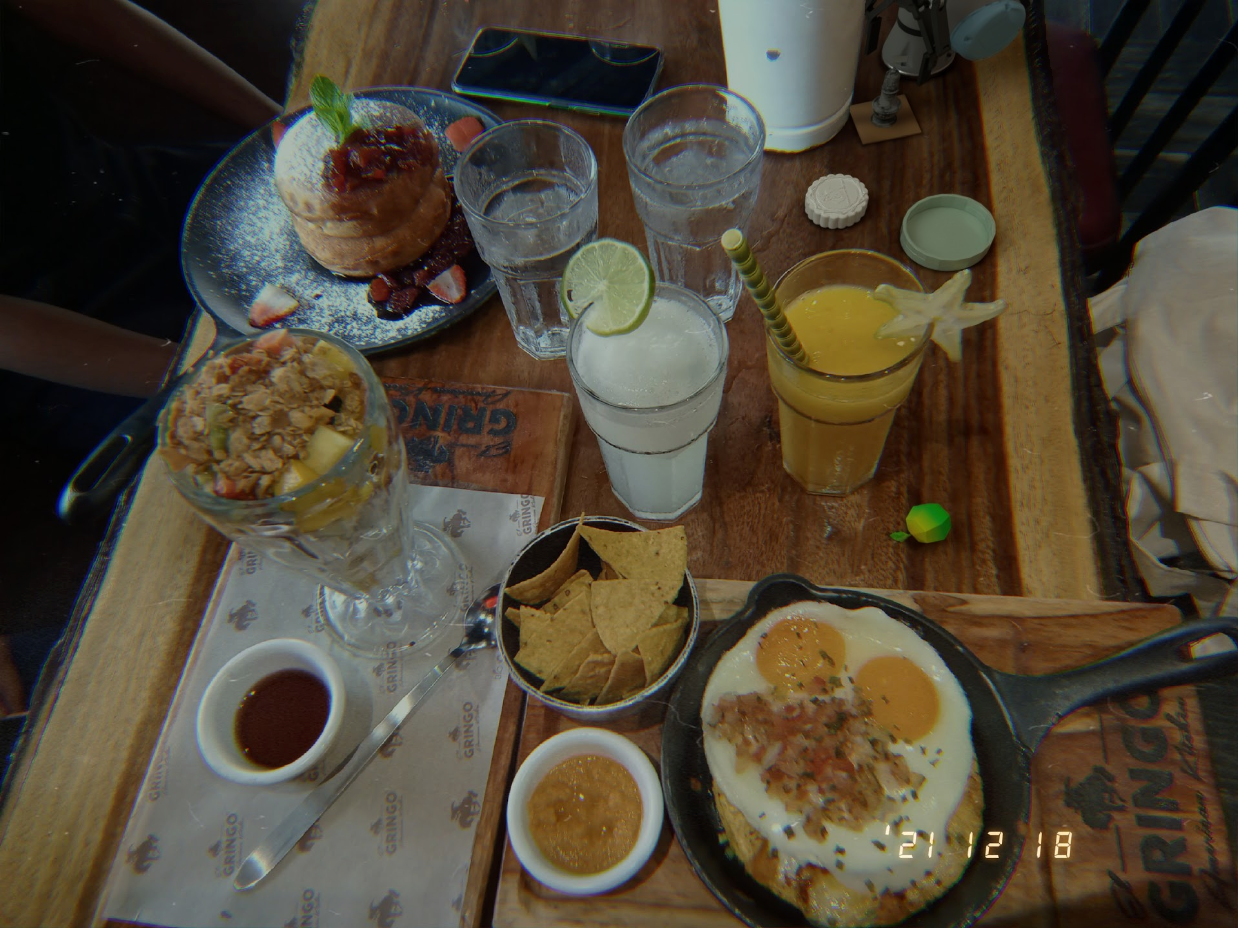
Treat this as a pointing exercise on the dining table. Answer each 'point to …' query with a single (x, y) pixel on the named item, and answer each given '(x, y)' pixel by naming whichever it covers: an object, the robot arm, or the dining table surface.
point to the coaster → (874, 134)
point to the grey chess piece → (887, 101)
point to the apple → (926, 524)
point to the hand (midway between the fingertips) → (896, 67)
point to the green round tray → (947, 232)
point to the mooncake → (836, 201)
